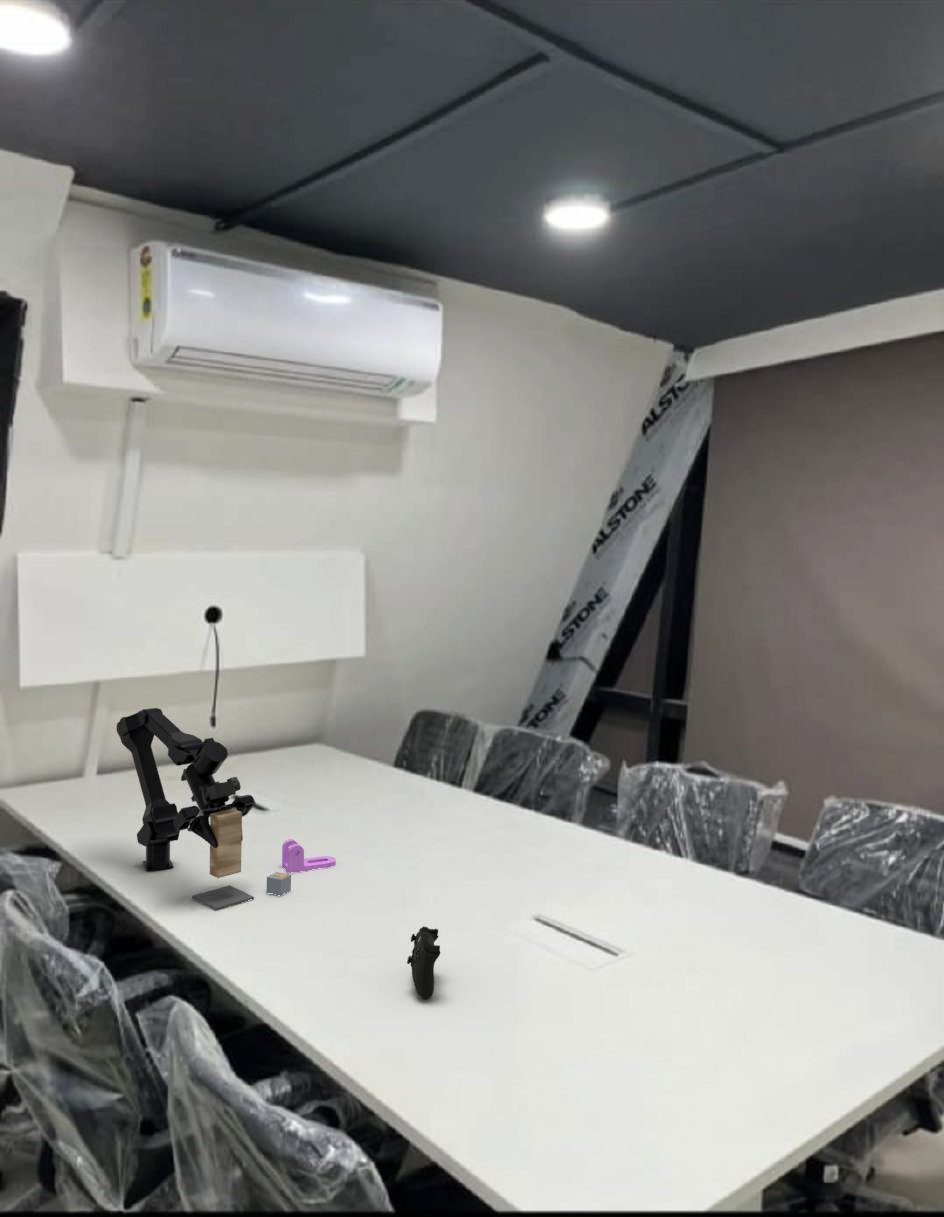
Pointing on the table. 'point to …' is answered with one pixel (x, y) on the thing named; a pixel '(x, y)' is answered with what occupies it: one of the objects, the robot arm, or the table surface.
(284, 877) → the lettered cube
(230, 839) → the wooden block
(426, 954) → the gaming controller
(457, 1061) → the table surface
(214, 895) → the charcoal mat
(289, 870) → the bracket
